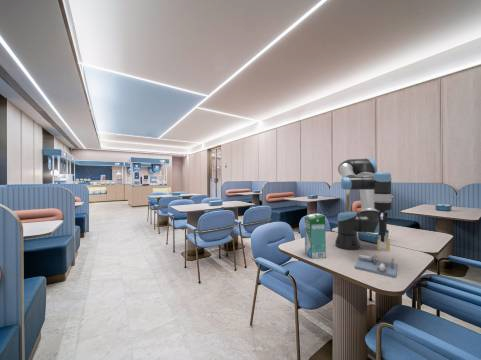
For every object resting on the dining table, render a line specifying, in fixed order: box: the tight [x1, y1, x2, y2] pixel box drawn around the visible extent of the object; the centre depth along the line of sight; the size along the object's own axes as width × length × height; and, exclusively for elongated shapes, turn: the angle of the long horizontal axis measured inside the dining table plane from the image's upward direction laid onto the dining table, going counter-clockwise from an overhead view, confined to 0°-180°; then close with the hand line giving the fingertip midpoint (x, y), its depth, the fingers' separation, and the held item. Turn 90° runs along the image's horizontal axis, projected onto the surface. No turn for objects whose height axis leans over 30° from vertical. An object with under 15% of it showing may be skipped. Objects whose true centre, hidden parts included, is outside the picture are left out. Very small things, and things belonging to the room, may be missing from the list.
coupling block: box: [376, 237, 391, 252], centre depth 107 cm, size 5×5×6 cm
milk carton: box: [304, 213, 327, 259], centre depth 125 cm, size 9×9×25 cm
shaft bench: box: [354, 253, 398, 279], centre depth 107 cm, size 17×16×4 cm
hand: (383, 246), depth 107 cm, fingers closed on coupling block, 5 cm apart
